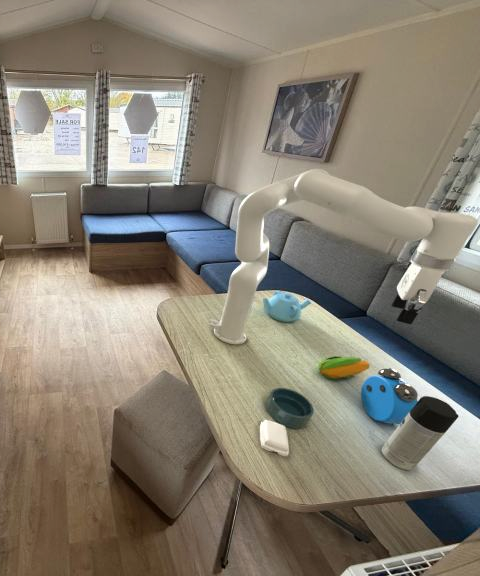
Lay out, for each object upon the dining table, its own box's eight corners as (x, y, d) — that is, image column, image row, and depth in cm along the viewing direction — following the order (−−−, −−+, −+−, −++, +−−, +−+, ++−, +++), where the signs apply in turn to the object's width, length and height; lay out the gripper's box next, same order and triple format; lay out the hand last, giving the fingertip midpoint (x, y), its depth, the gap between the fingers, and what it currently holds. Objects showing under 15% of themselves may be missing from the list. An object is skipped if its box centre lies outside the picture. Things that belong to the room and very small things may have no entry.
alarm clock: (403, 435, 88) (431, 397, 81) (379, 431, 88) (405, 394, 81) (374, 399, 99) (397, 364, 92) (353, 396, 100) (374, 361, 93)
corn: (316, 353, 107) (363, 347, 110) (307, 369, 111) (353, 362, 114) (334, 369, 100) (383, 362, 104) (324, 385, 105) (372, 378, 108)
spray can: (406, 451, 83) (447, 399, 74) (420, 475, 78) (467, 421, 68) (376, 443, 85) (413, 391, 76) (388, 466, 79) (429, 413, 70)
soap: (259, 422, 90) (262, 415, 89) (285, 430, 88) (288, 424, 87) (260, 448, 83) (263, 441, 82) (288, 458, 81) (292, 451, 79)
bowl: (263, 417, 92) (267, 405, 90) (268, 393, 100) (273, 382, 98) (306, 436, 86) (312, 424, 84) (308, 410, 95) (314, 398, 92)
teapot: (299, 330, 132) (308, 307, 127) (257, 315, 142) (263, 293, 137) (306, 315, 143) (314, 294, 138) (266, 302, 153) (273, 282, 148)
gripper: (407, 248, 90) (380, 298, 98) (420, 267, 77) (388, 323, 85) (442, 254, 86) (411, 306, 94) (462, 275, 74) (424, 333, 82)
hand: (400, 314), depth 90 cm, fingers open, 9 cm apart
